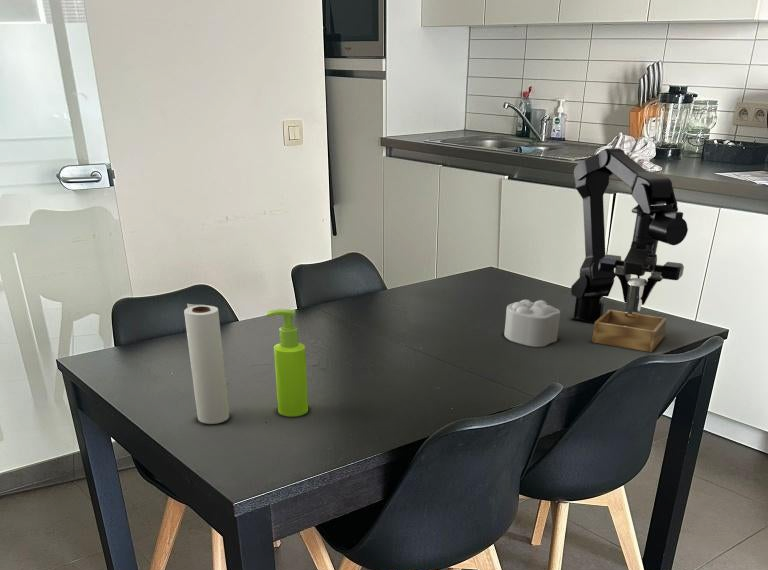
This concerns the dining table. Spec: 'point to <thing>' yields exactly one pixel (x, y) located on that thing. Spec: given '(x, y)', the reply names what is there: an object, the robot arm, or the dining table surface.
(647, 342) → the crate
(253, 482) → the dining table surface
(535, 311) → the lumpy-topped squat cylinder
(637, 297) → the silver capped cylinder
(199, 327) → the paper towel roll
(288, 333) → the soap dispenser
